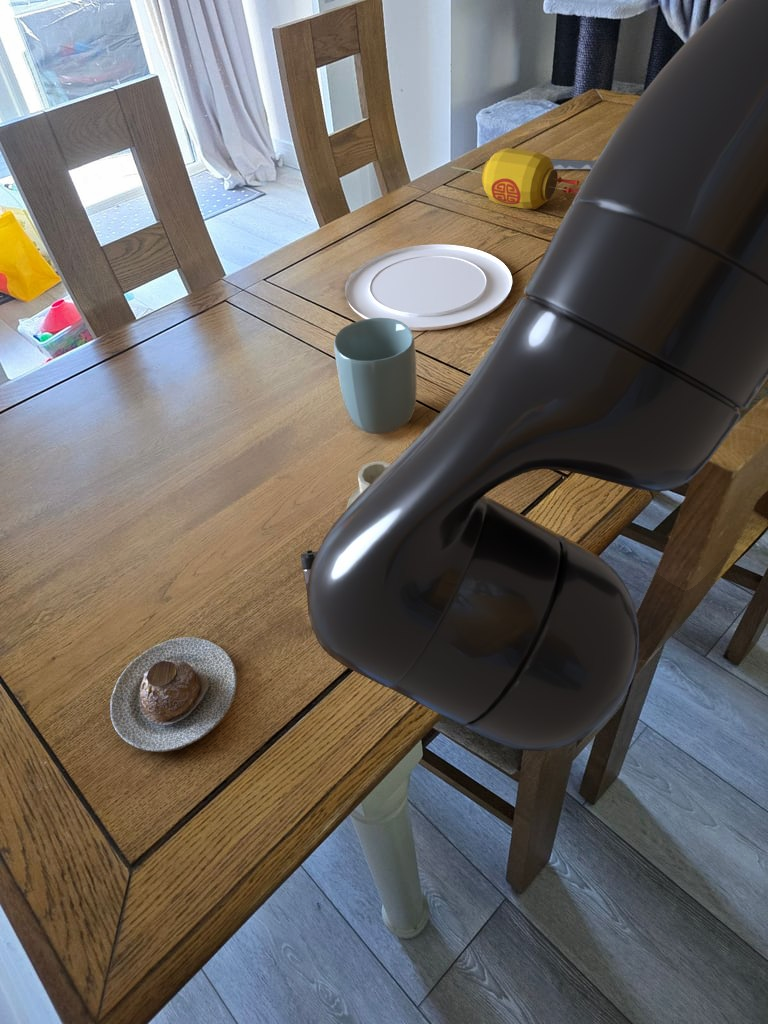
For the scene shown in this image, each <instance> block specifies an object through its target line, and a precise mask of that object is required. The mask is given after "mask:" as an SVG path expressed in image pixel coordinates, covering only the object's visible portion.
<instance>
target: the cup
mask: <svg viewBox="0 0 768 1024" xmlns="http://www.w3.org/2000/svg"><path fill="white" fill-rule="evenodd" d="M412 331H413V330H410V328H409V327H408V326H407V325H405V324H404V323H402V322H401V321H398V320H395V319H390V318H372V319H365V318H364V319H361V320H357V321H354V322H352V323H350V324H348V325H346V326H344V327H343V328H341V329H340V330H339V331H338V333H336V335H335V337H334V341H333V342H334V343H333V350H334V358H335V364H336V370H337V376H338V377H337V378H338V382H339V383H338V384H339V388H340V392H341V393H340V394H341V398H342V400H343V404H344V407H345V410H346V412H347V414H348V416H349V419H350V420H351V422H352V423H353V424H354V425H355V426H356V427H357V428H358V429H359V430H360V431H362V432H365V433H367V434H371V435H386V434H390V433H394V432H397V431H399V430H400V429H402V428H404V426H406V425H407V424H408V423H409V422H410V420H411V418H412V417H413V414H414V411H415V409H416V403H417V394H418V381H417V380H418V375H417V373H418V372H417V353H416V342H415V336H414V334H413V332H412Z"/></svg>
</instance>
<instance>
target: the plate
mask: <svg viewBox="0 0 768 1024" xmlns="http://www.w3.org/2000/svg"><path fill="white" fill-rule="evenodd" d="M512 285H513V277H512V274H511V271H510V270H509V268H508V266H506V265H505V263H504V262H503V261H502V260H500V259H499V258H497V257H496V256H494V255H492V254H490V253H487V252H486V251H483V250H479V249H476V248H472V247H468V246H463V245H457V244H444V243H443V244H439V243H438V244H437V243H436V244H435V243H434V244H420V245H419V244H418V245H411V246H406V247H401V248H397V249H393V250H390V251H387V252H384V253H381V254H379V255H377V256H374V257H372V258H370V259H369V260H367V261H365V262H363V263H362V264H360V266H358V267H357V268H355V270H354V271H353V272H352V273H351V274H350V275H349V276H348V278H347V280H346V282H345V286H344V295H345V298H346V300H347V303H348V305H349V307H350V308H351V309H352V310H353V311H354V312H355V313H356V314H357V315H358V316H360V317H361V318H363V319H364V320H365V319H372V318H390V319H395V320H398V321H401V322H402V323H404V324H405V325H407V326H408V327H409V328H410V330H411V331H420V332H421V331H437V330H445V329H450V328H456V327H459V326H463V325H467V324H470V323H472V322H475V321H478V320H479V319H482V318H484V317H486V316H489V314H491V313H493V312H494V311H495V310H497V309H498V308H499V307H500V306H501V305H503V304H504V302H505V301H506V300H507V298H508V296H509V295H510V292H511V289H512Z"/></svg>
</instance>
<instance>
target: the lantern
mask: <svg viewBox="0 0 768 1024" xmlns="http://www.w3.org/2000/svg"><path fill="white" fill-rule="evenodd" d="M550 159H551V158H550V157H549V156H547V155H545V154H543V153H540V152H537V151H532V150H526V149H518V148H511V147H506V148H502V149H499V150H498V151H497V152H495V153H494V154H493V155H492V156H490V158H489V159H487V160H486V161H485V162H484V164H483V166H482V169H481V171H479V170H473V169H468V168H463V167H457V166H451V167H450V169H455V170H461V171H466V172H472V173H477V174H480V184H481V187H482V189H483V190H484V192H485V193H486V196H487V198H488V199H489V200H490V201H492V202H493V203H495V204H498V205H502V206H507V207H514V208H518V209H524V210H529V211H530V210H536V209H539V208H540V207H541V206H542V205H544V204H545V203H546V202H547V201H549V200H551V199H552V198H553V196H554V194H555V192H556V190H561V191H562V192H563V194H565V193H568V194H570V193H572V194H575V195H577V193H578V191H579V189H573V188H571V187H568V188H567V186H564V187H563V188H560V187H557V185H558V184H560V183H564V184H565V183H566V184H569V185H574V186H579V183H580V181H579V180H576V179H567V178H566V179H565V178H562V177H561V176H559V177H558V175H559V173H558V169H554V167H553V164H552V162H551V160H550Z"/></svg>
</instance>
